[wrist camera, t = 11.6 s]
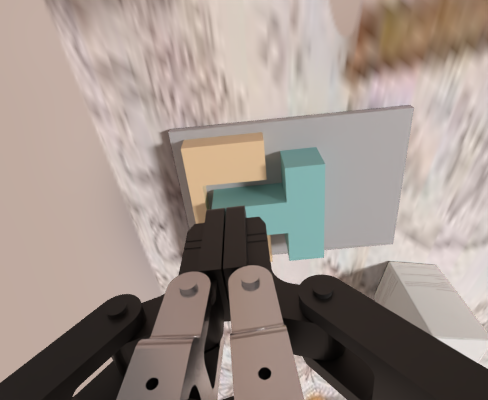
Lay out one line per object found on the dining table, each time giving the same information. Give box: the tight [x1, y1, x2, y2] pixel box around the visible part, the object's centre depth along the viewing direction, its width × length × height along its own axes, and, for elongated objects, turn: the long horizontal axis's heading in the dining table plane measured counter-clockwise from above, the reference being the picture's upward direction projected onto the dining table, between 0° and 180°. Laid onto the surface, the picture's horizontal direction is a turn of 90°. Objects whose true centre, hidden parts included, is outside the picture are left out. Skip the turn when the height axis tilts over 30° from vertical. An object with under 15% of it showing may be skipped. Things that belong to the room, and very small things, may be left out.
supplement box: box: [374, 261, 488, 363], centre depth 45 cm, size 7×7×13 cm
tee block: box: [212, 147, 325, 261], centre depth 40 cm, size 12×12×4 cm
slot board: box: [168, 105, 414, 262], centre depth 41 cm, size 26×18×4 cm
